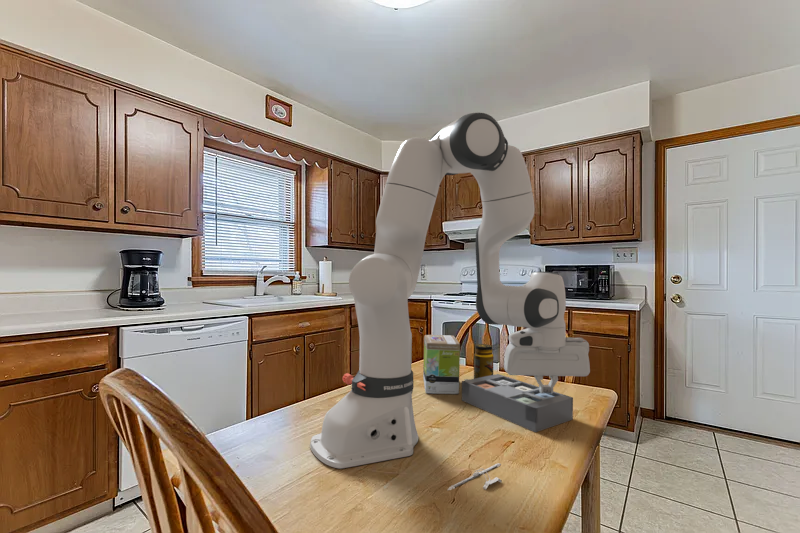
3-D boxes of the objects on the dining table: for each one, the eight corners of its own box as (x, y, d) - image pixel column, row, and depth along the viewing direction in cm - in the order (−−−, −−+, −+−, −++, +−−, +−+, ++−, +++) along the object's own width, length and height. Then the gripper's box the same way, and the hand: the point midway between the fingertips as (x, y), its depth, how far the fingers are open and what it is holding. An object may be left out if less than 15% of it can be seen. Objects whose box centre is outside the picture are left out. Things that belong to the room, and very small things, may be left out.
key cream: (524, 398, 100) (524, 391, 100) (511, 393, 103) (511, 387, 103) (534, 395, 102) (534, 389, 102) (521, 391, 105) (522, 385, 105)
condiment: (497, 386, 120) (498, 347, 120) (471, 387, 119) (471, 347, 119) (489, 379, 127) (489, 342, 127) (464, 380, 126) (464, 343, 126)
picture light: (498, 465, 73) (499, 453, 73) (519, 475, 70) (519, 463, 70) (445, 491, 64) (445, 478, 64) (465, 504, 61) (465, 491, 61)
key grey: (504, 391, 105) (504, 385, 105) (493, 387, 109) (493, 381, 109) (514, 388, 108) (514, 383, 108) (503, 385, 111) (503, 379, 111)
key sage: (527, 411, 91) (527, 404, 91) (513, 406, 94) (513, 399, 94) (538, 408, 93) (538, 401, 93) (524, 403, 96) (524, 396, 96)
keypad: (535, 432, 87) (535, 408, 87) (461, 400, 107) (462, 381, 107) (572, 419, 95) (573, 397, 95) (497, 392, 115) (497, 373, 115)
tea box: (460, 394, 112) (460, 343, 112) (425, 394, 112) (425, 342, 112) (453, 379, 127) (454, 334, 127) (422, 379, 127) (423, 333, 127)
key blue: (546, 406, 94) (546, 399, 94) (532, 401, 98) (532, 394, 98) (556, 403, 97) (556, 396, 97) (542, 398, 100) (542, 392, 100)
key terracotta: (485, 395, 101) (486, 389, 101) (475, 391, 105) (475, 385, 105) (496, 393, 104) (496, 387, 104) (485, 389, 107) (485, 383, 107)
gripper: (583, 335, 100) (583, 389, 100) (502, 334, 100) (502, 388, 100) (594, 339, 93) (594, 397, 93) (508, 339, 94) (508, 396, 94)
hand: (546, 393), depth 97 cm, fingers closed
